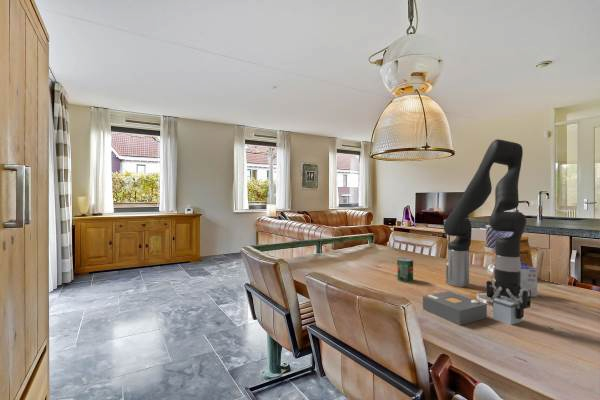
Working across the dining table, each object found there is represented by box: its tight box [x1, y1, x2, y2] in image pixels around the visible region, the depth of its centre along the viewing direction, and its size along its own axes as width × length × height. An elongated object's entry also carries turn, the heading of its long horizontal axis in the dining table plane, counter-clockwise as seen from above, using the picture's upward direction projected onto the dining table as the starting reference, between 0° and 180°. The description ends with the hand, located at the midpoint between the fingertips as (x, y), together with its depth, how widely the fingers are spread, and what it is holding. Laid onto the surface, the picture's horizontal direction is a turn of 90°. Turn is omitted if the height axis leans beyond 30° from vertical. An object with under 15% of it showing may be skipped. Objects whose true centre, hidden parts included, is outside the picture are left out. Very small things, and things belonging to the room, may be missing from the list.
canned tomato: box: [396, 257, 414, 283], centre depth 155 cm, size 8×8×11 cm
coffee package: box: [520, 236, 534, 267], centre depth 157 cm, size 10×12×22 cm
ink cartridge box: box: [519, 261, 538, 297], centre depth 131 cm, size 10×6×14 cm, turn 78°
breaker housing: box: [422, 291, 488, 326], centre depth 111 cm, size 16×14×6 cm
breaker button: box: [444, 298, 463, 303], centre depth 111 cm, size 4×4×5 cm
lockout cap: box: [492, 296, 523, 326], centre depth 105 cm, size 6×6×7 cm
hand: (507, 314), depth 105 cm, fingers open, 7 cm apart
